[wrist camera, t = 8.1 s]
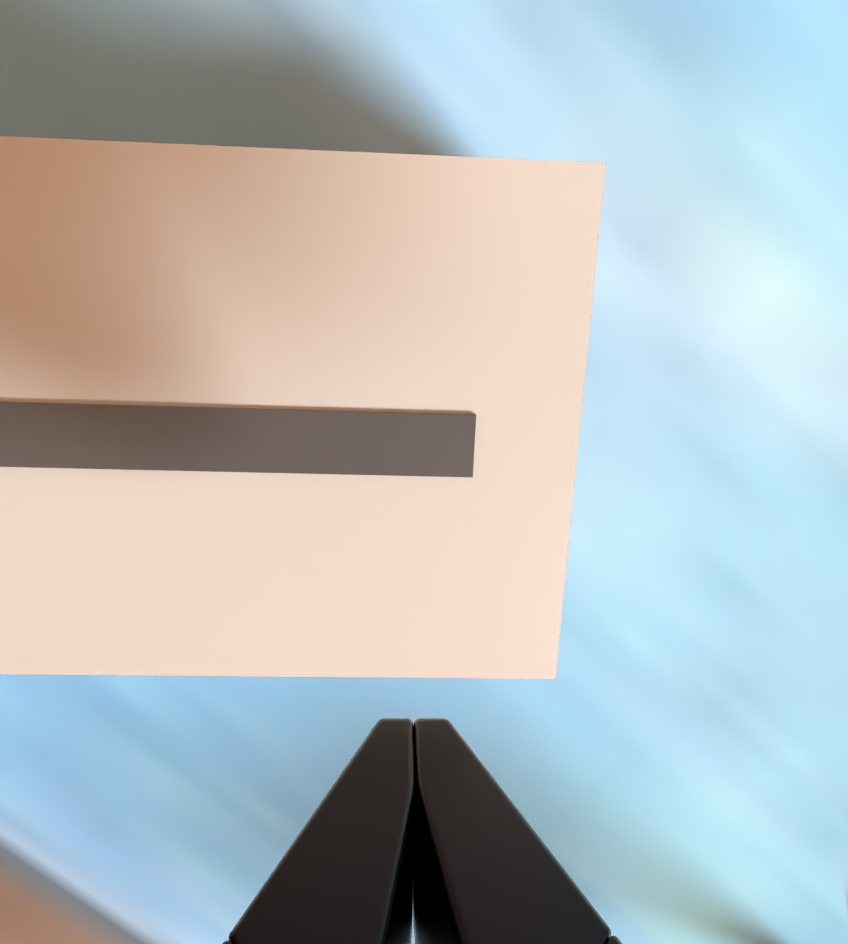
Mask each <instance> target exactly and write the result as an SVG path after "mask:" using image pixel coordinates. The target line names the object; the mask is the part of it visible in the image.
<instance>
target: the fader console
mask: <svg viewBox="0 0 848 944" xmlns="http://www.w3.org/2000/svg"><path fill="white" fill-rule="evenodd" d="M605 166H606V163H594V162H572V161H550V160H527V159H505V158H483V157H460V156H438V155H416V154H394V153H371V152H349V151H327V150H304V149H282V148H260V147H238V146H215V145H193V144H171V143H148V142H126V141H104V140H82V139H59V138H37V137H15V136H0V674H35V675H154V676H272V677H391V678H510V679H555V678H556V668H557V657H558V647H559V637H560V627H561V616H562V606H563V596H564V586H565V576H566V565H567V555H568V545H569V535H570V524H571V514H572V504H573V494H574V483H575V473H576V463H577V453H578V443H579V432H580V422H581V412H582V402H583V391H584V381H585V371H586V361H587V351H588V340H589V330H590V320H591V310H592V299H593V289H594V279H595V269H596V258H597V248H598V238H599V228H600V218H601V207H602V197H603V187H604V177H605Z"/></svg>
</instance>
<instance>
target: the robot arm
mask: <svg viewBox="0 0 848 944" xmlns="http://www.w3.org/2000/svg"><path fill="white" fill-rule="evenodd" d="M412 908H413V916H414V934H415V944H622V943H621V942H620V941H619V939H618V938H617V937H616V936H611V930H610V928H609V927H608V926H607V924H606V923H605V922H604V920H603V919H602V918H601V917H600V915H599V914H598V913H597V911H596V910H595V909H594V907H593V906H592V905H591V904H590V902H589V901H588V900H587V898H586V897H585V896H584V895H583V893H582V892H581V891H580V889H579V888H578V887H577V886H576V884H575V883H574V882H573V880H572V879H571V878H570V877H569V875H568V874H567V873H566V871H565V870H564V869H563V867H562V866H561V865H560V864H559V862H558V861H557V860H556V858H555V857H554V856H553V855H552V853H551V852H550V851H549V849H548V848H547V847H546V846H545V844H544V843H543V842H542V840H541V839H540V838H539V837H538V835H537V834H536V833H535V831H534V830H533V829H532V827H531V826H530V825H529V824H528V822H527V821H526V820H525V818H524V817H523V816H522V815H521V813H520V812H519V811H518V809H517V808H516V807H515V806H514V804H513V803H512V802H511V800H510V799H509V798H508V796H507V795H506V794H505V793H504V791H503V790H502V789H501V787H500V786H499V785H498V784H497V782H496V781H495V780H494V778H493V777H492V776H491V775H490V773H489V772H488V771H487V769H486V768H485V767H484V766H483V764H482V763H481V762H480V760H479V759H478V758H477V756H476V755H475V754H474V753H473V751H472V750H471V749H470V747H469V746H468V745H467V744H466V742H465V741H464V740H463V738H462V737H461V736H460V735H459V733H458V732H457V731H456V729H455V728H454V727H453V726H452V724H451V723H450V722H449V721H448V720H446V719H417V720H416V721H415V722H414V727H413V722H412V721H411V720H410V719H381V720H379V721H378V722H377V724H376V725H375V726H374V728H373V729H372V731H371V732H370V734H369V735H368V736H367V738H366V739H365V741H364V742H363V744H362V745H361V746H360V748H359V749H358V751H357V752H356V754H355V755H354V756H353V758H352V759H351V761H350V762H349V764H348V765H347V766H346V768H345V769H344V771H343V772H342V774H341V775H340V777H339V778H338V779H337V781H336V782H335V784H334V785H333V787H332V788H331V789H330V791H329V792H328V794H327V795H326V797H325V798H324V799H323V801H322V802H321V804H320V805H319V807H318V808H317V810H316V811H315V812H314V814H313V815H312V817H311V818H310V820H309V821H308V822H307V824H306V825H305V827H304V828H303V830H302V831H301V832H300V834H299V835H298V837H297V838H296V840H295V841H294V842H293V844H292V845H291V847H290V848H289V850H288V851H287V853H286V854H285V855H284V857H283V858H282V860H281V861H280V863H279V864H278V865H277V867H276V868H275V870H274V871H273V873H272V874H271V875H270V877H269V878H268V880H267V881H266V883H265V884H264V886H263V887H262V888H261V890H260V891H259V893H258V894H257V896H256V897H255V898H254V900H253V901H252V903H251V904H250V906H249V907H248V908H247V910H246V911H245V913H244V914H243V916H242V917H241V918H240V920H239V921H238V923H237V924H236V926H235V927H234V929H233V930H232V931H231V933H230V935H229V941H225V942H223V944H411V935H412Z"/></svg>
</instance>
